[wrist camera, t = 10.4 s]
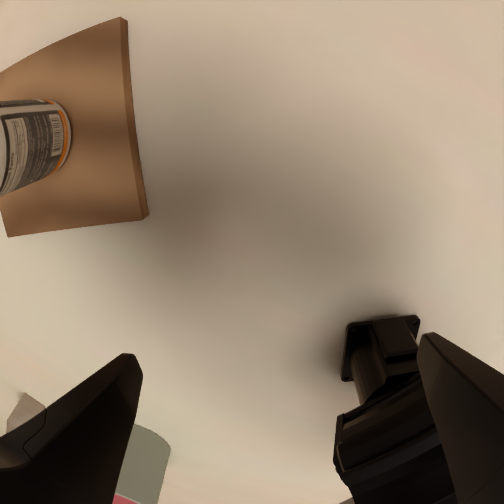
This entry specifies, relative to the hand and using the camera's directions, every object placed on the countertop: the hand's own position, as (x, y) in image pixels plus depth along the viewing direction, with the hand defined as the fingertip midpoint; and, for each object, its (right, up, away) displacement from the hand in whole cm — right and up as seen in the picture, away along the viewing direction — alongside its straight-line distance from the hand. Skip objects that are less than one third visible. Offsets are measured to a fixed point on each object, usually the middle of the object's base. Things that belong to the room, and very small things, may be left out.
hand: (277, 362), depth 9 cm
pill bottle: (-15, +11, +9) cm, 21 cm away
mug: (-17, -19, +24) cm, 35 cm away
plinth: (-15, +12, +10) cm, 22 cm away
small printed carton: (-33, -20, +25) cm, 47 cm away
